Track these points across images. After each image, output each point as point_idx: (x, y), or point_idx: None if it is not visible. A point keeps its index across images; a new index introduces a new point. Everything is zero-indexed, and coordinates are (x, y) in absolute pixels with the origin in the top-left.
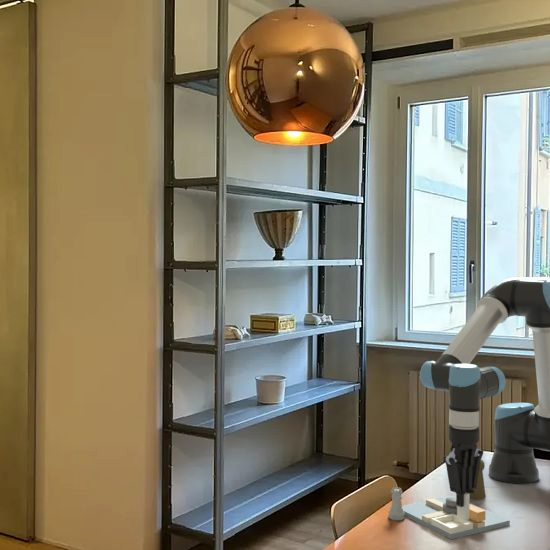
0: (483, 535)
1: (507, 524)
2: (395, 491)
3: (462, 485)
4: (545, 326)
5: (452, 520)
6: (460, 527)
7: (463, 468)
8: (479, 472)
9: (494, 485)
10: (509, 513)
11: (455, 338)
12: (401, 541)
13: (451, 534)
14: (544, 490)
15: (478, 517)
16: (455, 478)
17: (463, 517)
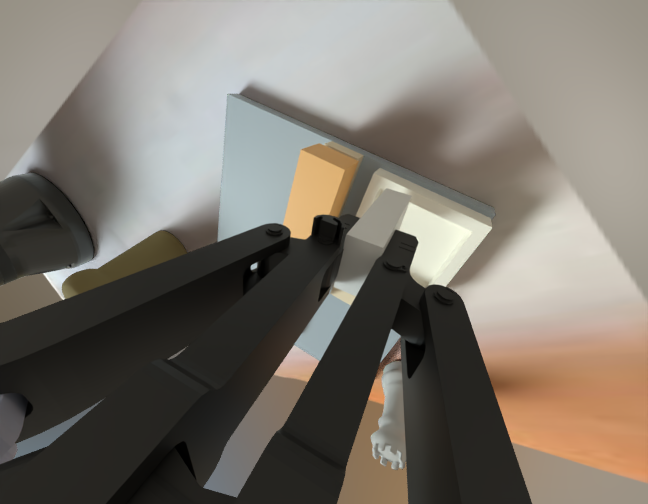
0: (378, 123)
1: (244, 97)
2: (404, 457)
3: (398, 305)
4: None
5: None
6: (439, 200)
7: (330, 454)
8: (108, 272)
9: (109, 235)
10: (178, 140)
11: None
12: (619, 348)
13: (493, 214)
14: (40, 137)
15: (346, 162)
16: (504, 432)
17: (406, 209)
